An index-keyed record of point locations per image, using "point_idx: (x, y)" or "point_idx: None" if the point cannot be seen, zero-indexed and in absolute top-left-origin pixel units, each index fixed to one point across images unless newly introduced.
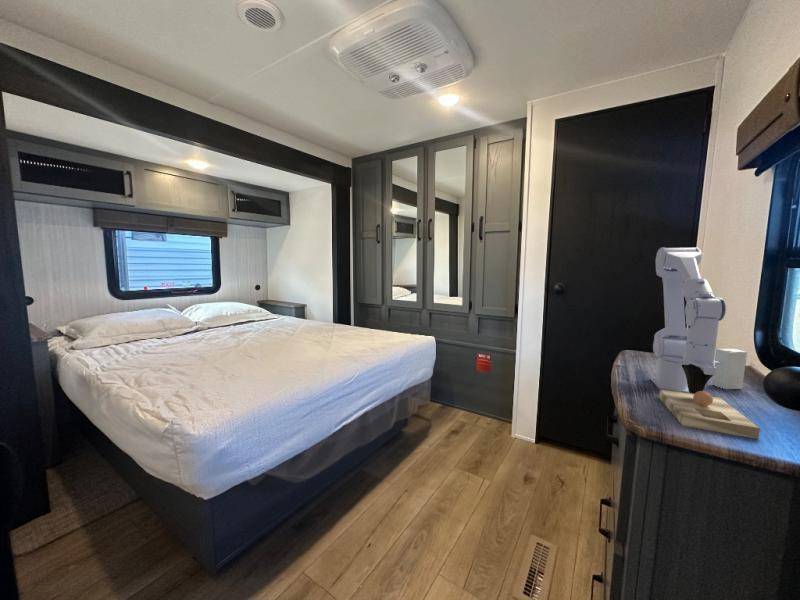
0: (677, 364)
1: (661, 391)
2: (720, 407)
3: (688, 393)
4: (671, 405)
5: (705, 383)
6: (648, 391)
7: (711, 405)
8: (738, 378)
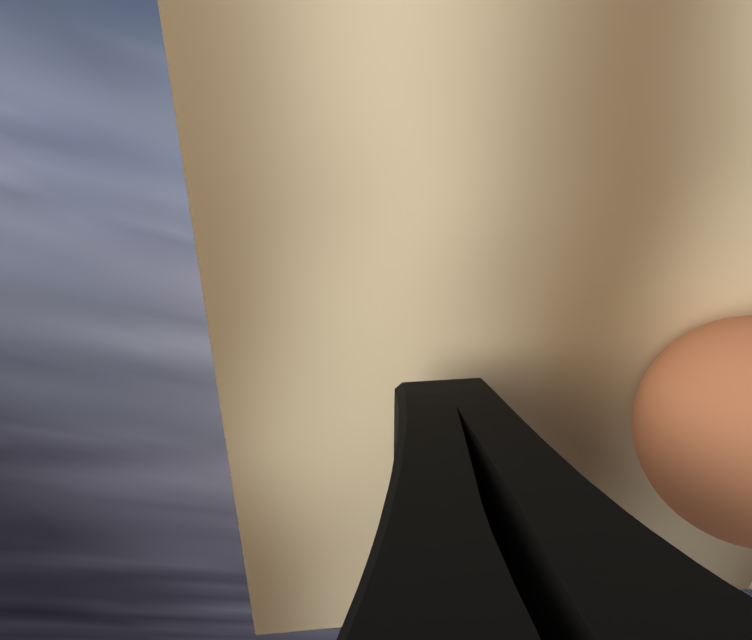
0: None
1: (326, 624)
2: (721, 168)
3: (228, 401)
4: None
5: (632, 526)
6: (95, 595)
7: (667, 261)
8: None
